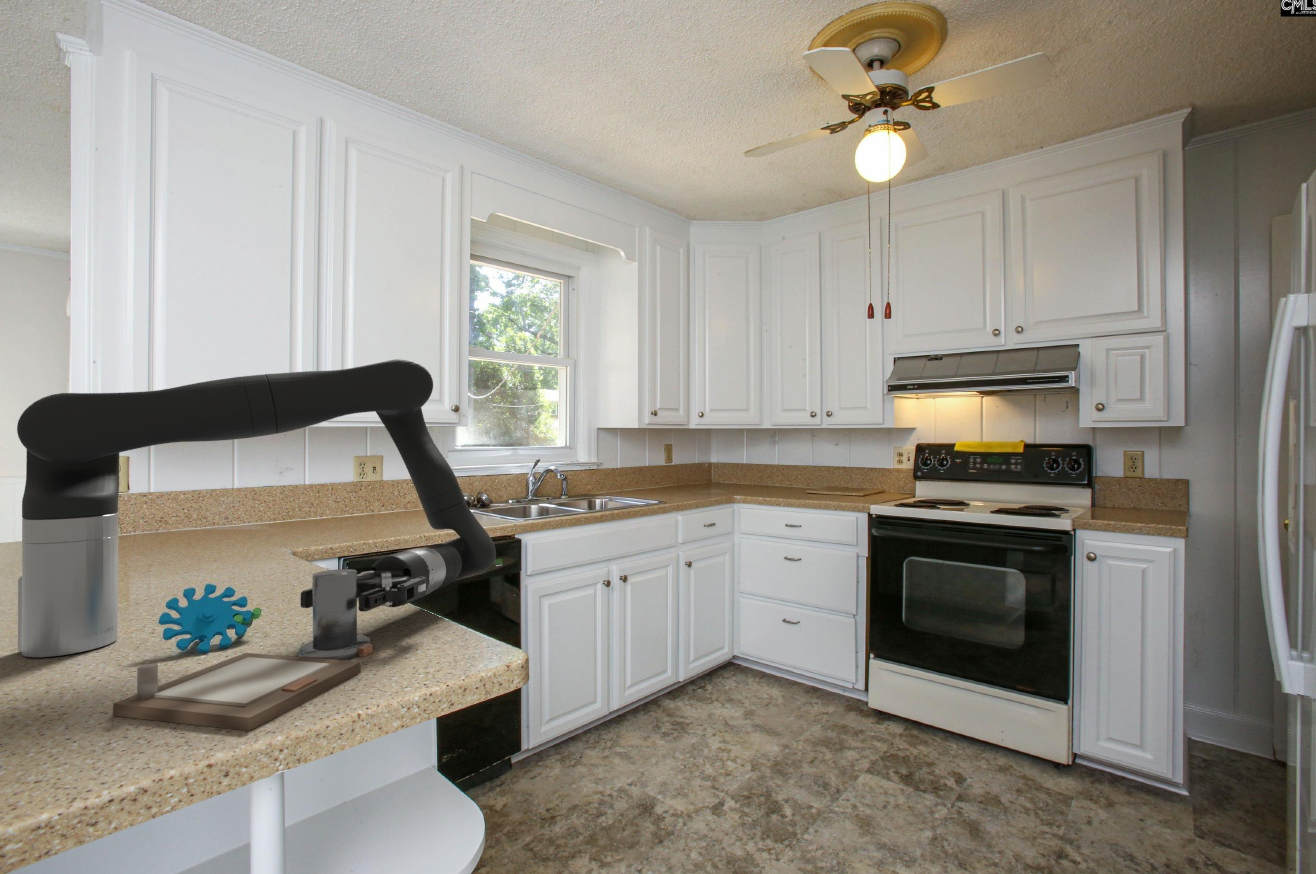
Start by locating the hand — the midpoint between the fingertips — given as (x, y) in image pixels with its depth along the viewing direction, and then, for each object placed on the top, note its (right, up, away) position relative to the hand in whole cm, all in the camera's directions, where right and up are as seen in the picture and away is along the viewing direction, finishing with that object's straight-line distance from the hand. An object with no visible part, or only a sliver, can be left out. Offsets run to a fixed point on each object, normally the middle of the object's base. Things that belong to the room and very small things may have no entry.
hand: (331, 601), depth 79 cm
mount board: (-3, -6, -12) cm, 14 cm away
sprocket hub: (0, -7, 0) cm, 7 cm away
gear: (-18, -7, +4) cm, 20 cm away
